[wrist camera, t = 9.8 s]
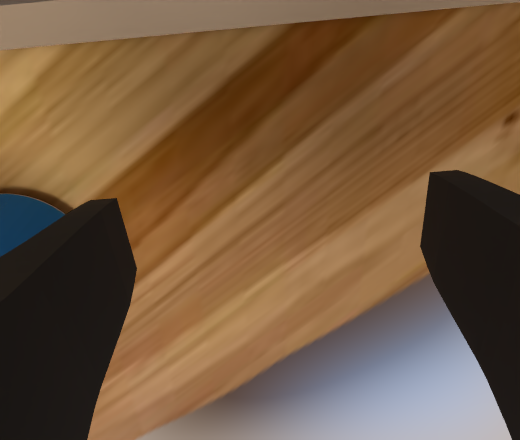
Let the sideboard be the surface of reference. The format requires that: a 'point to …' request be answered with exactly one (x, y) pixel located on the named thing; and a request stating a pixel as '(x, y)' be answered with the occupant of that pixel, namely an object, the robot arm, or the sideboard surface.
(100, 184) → the sideboard surface
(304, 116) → the sideboard surface
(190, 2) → the bay
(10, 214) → the beverage can
